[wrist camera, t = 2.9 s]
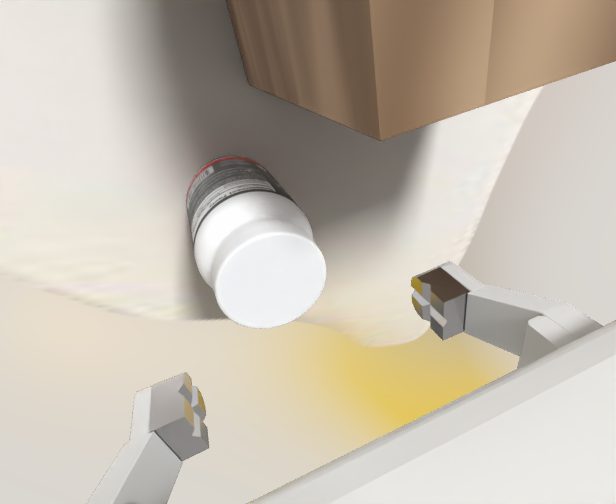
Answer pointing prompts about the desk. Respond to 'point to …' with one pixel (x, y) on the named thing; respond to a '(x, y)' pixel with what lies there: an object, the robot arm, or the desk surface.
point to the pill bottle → (253, 244)
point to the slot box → (415, 54)
